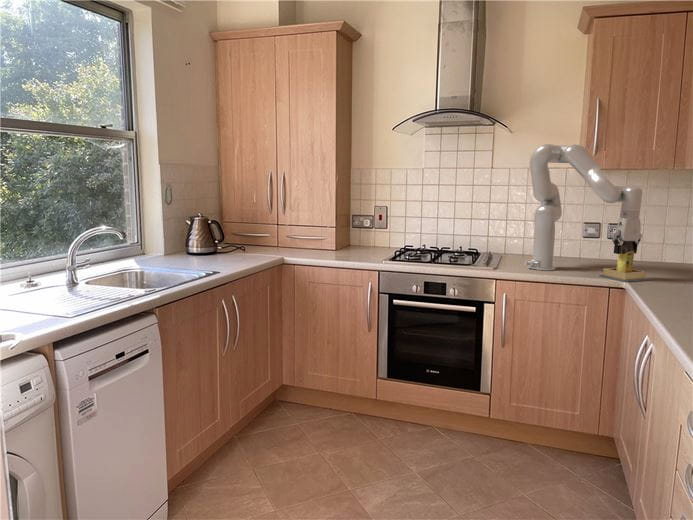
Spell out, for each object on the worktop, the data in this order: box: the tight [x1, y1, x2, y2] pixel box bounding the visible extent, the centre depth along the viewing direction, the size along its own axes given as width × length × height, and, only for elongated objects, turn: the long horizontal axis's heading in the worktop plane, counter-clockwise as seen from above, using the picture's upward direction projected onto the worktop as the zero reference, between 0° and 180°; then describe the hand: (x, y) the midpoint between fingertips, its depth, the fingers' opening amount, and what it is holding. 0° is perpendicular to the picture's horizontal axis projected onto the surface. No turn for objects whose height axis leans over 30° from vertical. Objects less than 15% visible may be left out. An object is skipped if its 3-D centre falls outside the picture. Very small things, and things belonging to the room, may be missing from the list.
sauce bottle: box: [616, 241, 635, 273], centre depth 236 cm, size 6×6×20 cm
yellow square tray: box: [599, 267, 650, 283], centre depth 237 cm, size 14×14×4 cm
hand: (624, 253), depth 236 cm, fingers open, 9 cm apart
